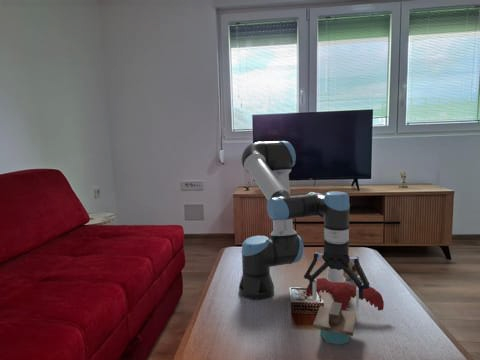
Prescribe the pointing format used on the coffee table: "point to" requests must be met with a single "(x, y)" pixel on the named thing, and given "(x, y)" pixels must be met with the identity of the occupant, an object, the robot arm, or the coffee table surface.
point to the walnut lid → (335, 319)
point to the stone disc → (351, 269)
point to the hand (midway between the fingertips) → (335, 303)
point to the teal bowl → (334, 337)
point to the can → (334, 275)
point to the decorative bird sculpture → (347, 293)
